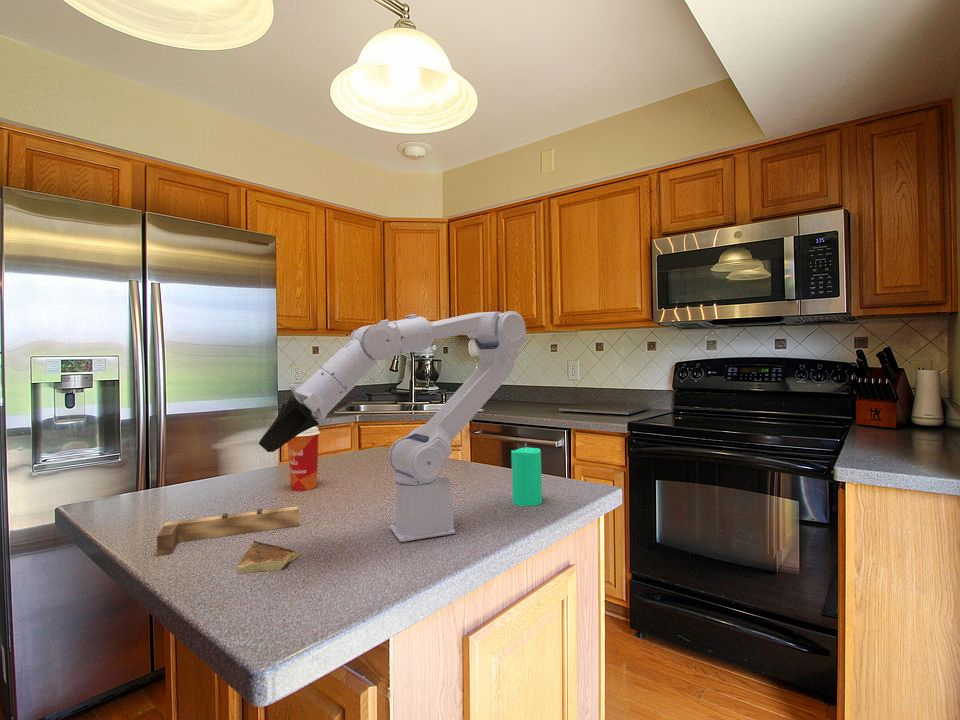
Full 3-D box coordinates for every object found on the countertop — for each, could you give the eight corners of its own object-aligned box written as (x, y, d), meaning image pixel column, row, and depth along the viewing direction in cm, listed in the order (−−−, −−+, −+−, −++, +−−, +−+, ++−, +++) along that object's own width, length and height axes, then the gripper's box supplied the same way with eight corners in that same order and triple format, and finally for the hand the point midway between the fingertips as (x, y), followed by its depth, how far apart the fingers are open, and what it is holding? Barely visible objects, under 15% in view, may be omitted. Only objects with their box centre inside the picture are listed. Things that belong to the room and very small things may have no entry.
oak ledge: (298, 522, 95) (298, 504, 95) (300, 535, 88) (300, 515, 88) (166, 540, 87) (166, 520, 87) (157, 555, 80) (156, 534, 80)
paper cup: (281, 488, 121) (279, 428, 121) (312, 482, 126) (311, 425, 126) (295, 494, 115) (293, 431, 115) (327, 487, 120) (325, 427, 120)
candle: (534, 496, 108) (533, 439, 108) (547, 504, 103) (545, 443, 103) (508, 499, 106) (506, 441, 106) (519, 507, 101) (517, 446, 101)
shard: (254, 550, 83) (253, 538, 83) (303, 545, 84) (303, 534, 84) (235, 577, 72) (235, 564, 72) (293, 572, 74) (292, 559, 74)
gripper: (307, 370, 86) (243, 430, 80) (320, 355, 73) (244, 426, 67) (338, 399, 87) (277, 461, 81) (356, 390, 74) (285, 462, 68)
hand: (264, 447), depth 74 cm, fingers open, 7 cm apart
